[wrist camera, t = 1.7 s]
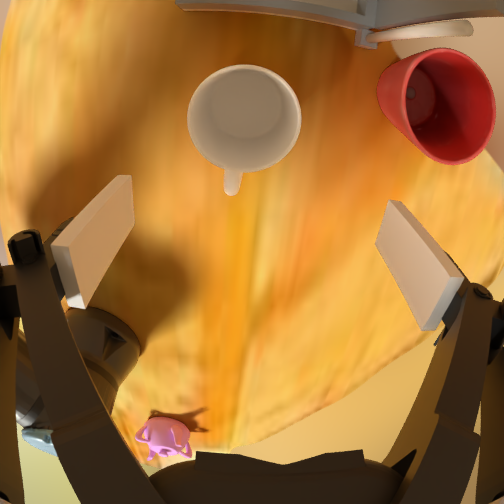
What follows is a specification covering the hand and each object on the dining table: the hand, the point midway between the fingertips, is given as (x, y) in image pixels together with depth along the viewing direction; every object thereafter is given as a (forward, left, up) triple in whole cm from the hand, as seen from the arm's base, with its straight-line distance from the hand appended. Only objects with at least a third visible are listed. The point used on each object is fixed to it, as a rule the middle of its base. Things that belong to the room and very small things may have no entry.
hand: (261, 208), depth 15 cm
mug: (-1, +1, -19) cm, 19 cm away
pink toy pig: (-14, -67, -19) cm, 71 cm away
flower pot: (+16, +7, -19) cm, 26 cm away
